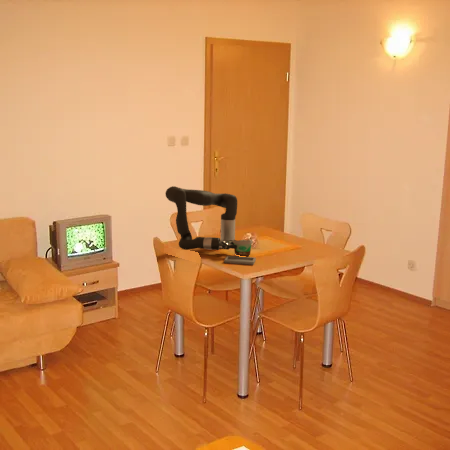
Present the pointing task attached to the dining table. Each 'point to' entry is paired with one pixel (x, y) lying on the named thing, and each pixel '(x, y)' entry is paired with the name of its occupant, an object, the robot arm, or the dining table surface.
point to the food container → (243, 247)
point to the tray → (240, 260)
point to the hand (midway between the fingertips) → (238, 245)
